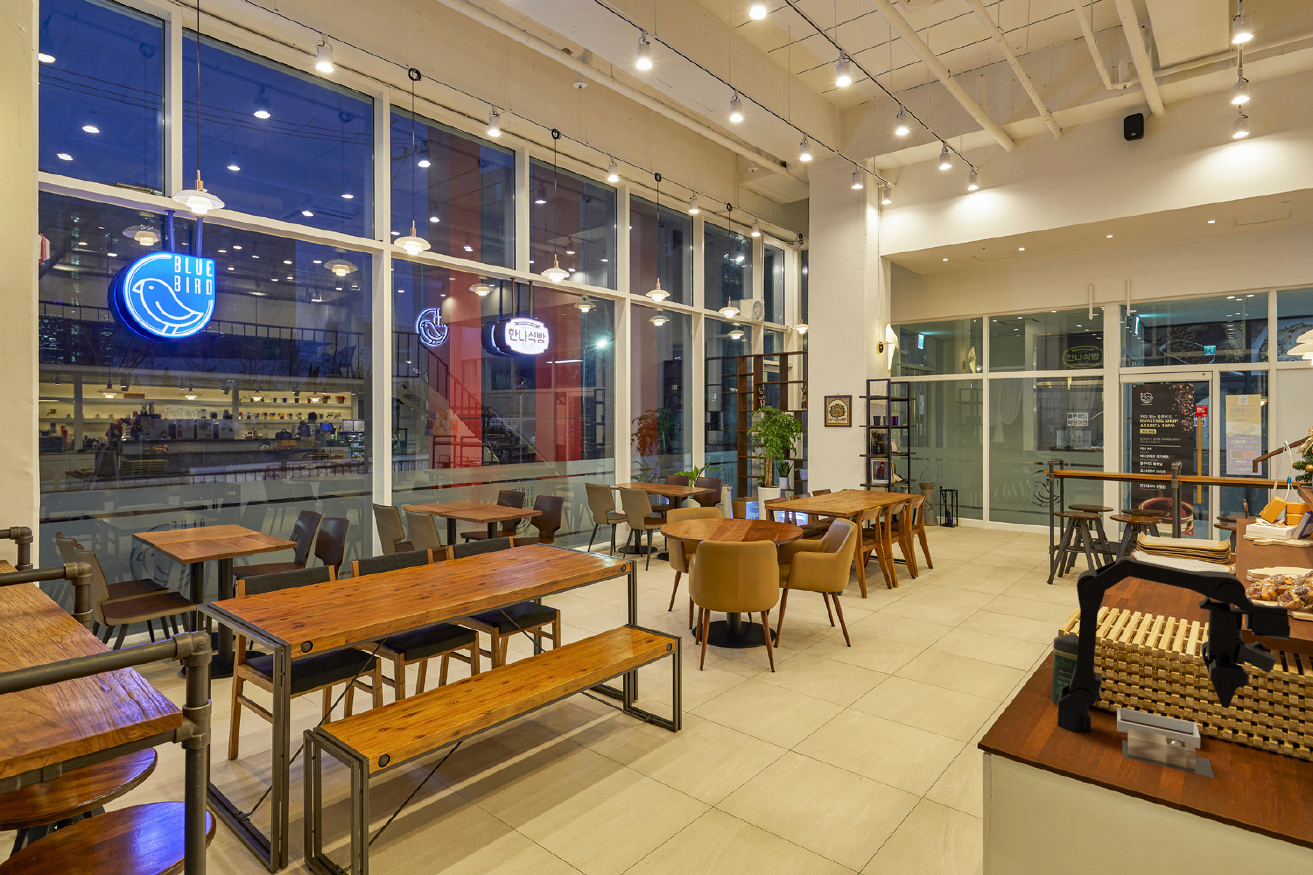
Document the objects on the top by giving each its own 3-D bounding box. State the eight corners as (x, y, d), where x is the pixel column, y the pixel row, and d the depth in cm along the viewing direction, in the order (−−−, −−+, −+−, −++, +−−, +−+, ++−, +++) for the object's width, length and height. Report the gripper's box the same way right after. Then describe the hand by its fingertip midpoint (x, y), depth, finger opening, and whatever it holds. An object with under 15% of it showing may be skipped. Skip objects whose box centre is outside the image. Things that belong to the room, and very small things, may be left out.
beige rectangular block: (1128, 754, 154) (1128, 736, 154) (1127, 744, 159) (1127, 727, 158) (1195, 769, 148) (1195, 751, 148) (1192, 759, 152) (1193, 741, 152)
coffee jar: (1080, 714, 176) (1082, 643, 175) (1047, 703, 182) (1048, 635, 181) (1094, 703, 182) (1096, 635, 181) (1062, 693, 188) (1063, 627, 187)
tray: (1117, 734, 165) (1117, 720, 165) (1116, 720, 172) (1117, 707, 172) (1199, 752, 156) (1200, 737, 156) (1195, 736, 164) (1196, 722, 164)
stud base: (1122, 761, 153) (1123, 737, 153) (1121, 744, 161) (1122, 721, 160) (1214, 782, 144) (1215, 757, 144) (1208, 763, 152) (1209, 739, 152)
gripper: (1283, 651, 138) (1279, 725, 139) (1265, 625, 154) (1262, 692, 155) (1212, 640, 144) (1209, 712, 145) (1202, 616, 160) (1199, 681, 161)
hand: (1222, 699), depth 151 cm, fingers open, 9 cm apart
